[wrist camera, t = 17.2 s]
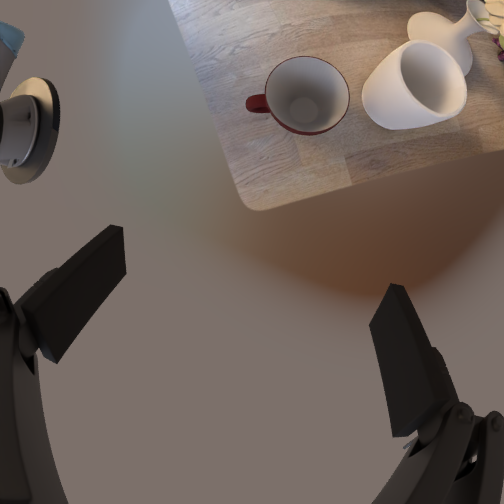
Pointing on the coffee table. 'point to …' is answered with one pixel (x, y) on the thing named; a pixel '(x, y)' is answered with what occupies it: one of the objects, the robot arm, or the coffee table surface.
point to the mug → (303, 96)
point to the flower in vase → (459, 29)
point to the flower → (503, 54)
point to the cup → (415, 87)
